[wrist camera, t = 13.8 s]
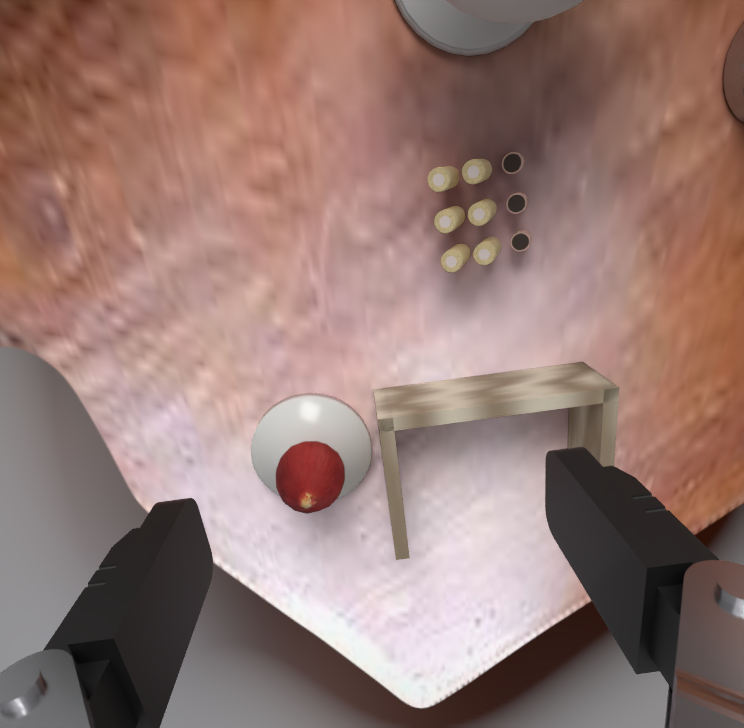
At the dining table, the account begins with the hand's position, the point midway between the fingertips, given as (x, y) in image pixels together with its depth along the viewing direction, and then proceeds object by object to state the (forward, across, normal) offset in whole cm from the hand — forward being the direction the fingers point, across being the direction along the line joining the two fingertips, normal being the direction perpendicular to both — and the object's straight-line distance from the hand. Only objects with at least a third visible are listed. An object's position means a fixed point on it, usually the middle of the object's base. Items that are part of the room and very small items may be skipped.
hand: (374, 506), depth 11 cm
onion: (+29, +6, +15) cm, 33 cm away
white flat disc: (+30, +6, +15) cm, 34 cm away
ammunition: (+30, -10, -4) cm, 33 cm away
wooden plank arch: (+30, -10, +17) cm, 36 cm away
